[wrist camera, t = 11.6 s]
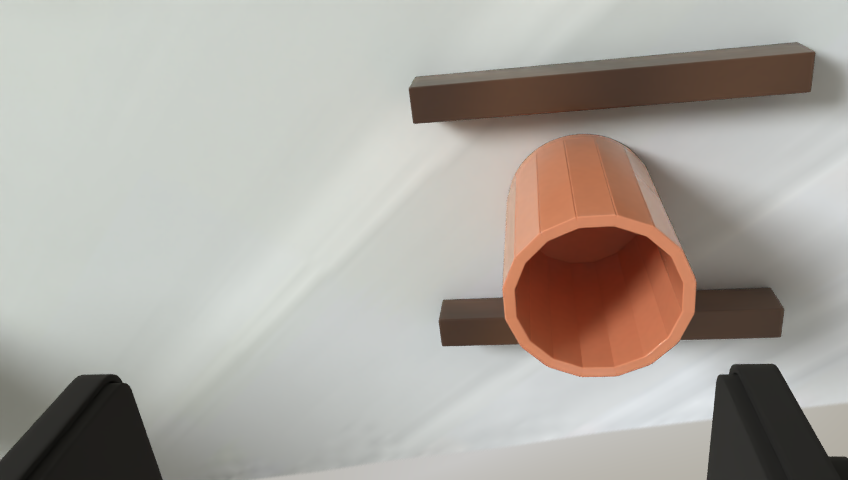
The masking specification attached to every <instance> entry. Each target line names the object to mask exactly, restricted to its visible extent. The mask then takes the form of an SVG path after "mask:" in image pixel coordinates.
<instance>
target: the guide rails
mask: <svg viewBox="0 0 848 480" xmlns="http://www.w3.org/2000/svg"><path fill="white" fill-rule="evenodd" d="M814 61H815V52H814V51H813V50H811V49H809V48H807V47H805V46H803V45H802V44H800V43H798V42H795V43H784V44H773V45H762V46H751V47H740V48H729V49H718V50H707V51H696V52H685V53H674V54H663V55H652V56H641V57H630V58H619V59H608V60H597V61H586V62H575V63H564V64H553V65H542V66H531V67H520V68H508V69H497V70H486V71H475V72H464V73H453V74H442V75H431V76H420V77H415V79H414V80H413V82H412V84H411V85H410V87H409V94H410V102H411V110H412V118H413V123H414V124H418V123H431V122H443V121H456V120H468V119H481V118H494V117H506V116H519V115H531V114H544V113H556V112H569V111H581V110H594V109H607V108H619V107H632V106H644V105H657V104H669V103H682V102H694V101H707V100H720V99H732V98H745V97H757V96H770V95H782V94H795V93H807V92H811V86H812V78H813V69H814ZM783 316H784V308H783V306H782V305H781V303H780V302H779V300H778V298H777V297H776V295H775V294H774V292H773V290H772V289H771V288H751V289H724V290H697V291H696V301H695V313H694V316H693V317H692V319H691V321H690V323H689V325H688V326H687V328H686V330H685V332H684V333H683V335H682V337H681V339H680V340H702V339H740V338H778V337H781V333H782V324H783ZM439 326H440V334H441V342H442V346H471V345H510V344H519V343H518V341H517V339H516V337H515V336H514V334H513V332H512V331H511V329H510V327H509V325H508V324H507V322H506V319H505V314H504V302H503V298H482V299H455V300H443V302H442V307H441V312H440V317H439Z"/></svg>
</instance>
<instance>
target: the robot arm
mask: <svg viewBox="0 0 848 480" xmlns="http://www.w3.org/2000/svg"><path fill="white" fill-rule="evenodd" d="M0 480H163V479H162V476H161V474H160V471H159V468H158V465H157V462H156V459H155V456H154V453H153V450H152V448H151V445H150V442H149V439H148V436H147V433H146V430H145V427H144V424H143V422H142V419H141V416H140V413H139V410H138V407H137V404H136V401H135V398H134V396H133V393H132V390H131V388H130V386H129V385H128V384H126V383H123V382H122V380H121V379H120V378H119V377H118V376H117V375H113V374H99V375H81V376H78V377H77V378H75V379H74V380H73V381H72V382H71V383H70V384H69V385H68V387H67V388H66V389H65V390H64V391H63V392H62V393H61V394H60V395H59V397H58V398H57V399H56V400H55V401H54V402H53V403H52V404H51V405H50V406H49V408H48V409H47V410H46V411H45V412H44V413H43V414H42V415H41V416H40V418H39V419H38V420H37V421H36V422H35V423H34V424H33V425H32V426H31V427H30V429H29V430H28V431H27V432H26V433H25V434H24V435H23V436H22V437H21V439H20V440H19V441H18V442H17V443H16V444H15V445H14V446H13V447H12V448H11V450H10V451H9V452H8V453H7V454H6V455H5V456H4V457H3V458H2V460H1V461H0ZM707 480H848V458H846V457H828V455H827V454H826V452H825V450H824V448H823V446H822V445H821V443H820V441H819V439H818V438H817V436H816V434H815V432H814V431H813V429H812V427H811V425H810V423H809V422H808V420H807V418H806V417H805V415H804V413H803V411H802V409H801V408H800V406H799V404H798V402H797V401H796V399H795V397H794V395H793V393H792V392H791V390H790V388H789V386H788V385H787V383H786V381H785V379H784V378H783V376H782V374H781V372H780V371H779V369H778V368H777V366H776V365H774V364H734V365H732V366H731V369H730V372H729V374H728V375H718V377H717V381H716V390H715V401H714V411H713V421H712V432H711V442H710V452H709V463H708V473H707Z"/></svg>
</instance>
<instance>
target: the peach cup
mask: <svg viewBox="0 0 848 480" xmlns="http://www.w3.org/2000/svg"><path fill="white" fill-rule="evenodd" d="M696 283H697V281H696V278H695V275H694V273H693V271H692V269H691V266H690V264H689V262H688V260H687V258H686V255H685V253H684V251H683V249H682V246H681V244H680V242H679V240H678V237H677V235H676V233H675V231H674V228H673V226H672V224H671V222H670V220H669V217H668V215H667V213H666V211H665V208H664V206H663V204H662V202H661V199H660V197H659V195H658V193H657V190H656V188H655V186H654V184H653V182H652V179H651V177H650V175H649V173H648V171H647V168H646V166H645V165H644V164H643V163H642V161H641V160H640V159H639V157H638V156H637V155H636V154H635V153H634V152H633V151H631V150H630V149H629V148H627V147H626V146H625V145H623V144H621V143H619V142H617V141H615V140H612V139H610V138H607V137H603V136H599V135H591V134H576V135H569V136H565V137H561V138H558V139H555V140H553V141H550V142H548V143H546V144H544V145H543V146H541V147H539V148H538V149H537V150H535V151H534V152H533V153H532V154H530V155H529V156H528V157H527V158H526V159H525V161H524V162H523V163H522V164H521V165H520V167H519V169H518V170H517V172H516V173H515V176H514V178H513V180H512V183H511V186H510V190H509V195H508V198H507V212H506V231H505V250H504V269H503V289H502V290H503V302H504V314H505V319H506V322H507V324H508V325H509V327H510V329H511V331H512V332H513V334H514V336H515V337H516V339H517V341H518V343H519V344H520V346H521V347H522V348H523V349H525V350H526V351H527V352H529V353H530V354H531V355H533V356H534V357H535V358H537V359H538V360H539V361H541V362H542V363H543V364H544V365H546V366H548V367H550V368H553V369H556V370H560V371H563V372H566V373H569V374H573V375H576V376H579V377H608V376H616V375H617V376H619V375H622V374H625V373H628V372H631V371H634V370H637V369H640V368H642V367H645V366H648V365H650V364H652V363H654V362H655V361H656V360H657V359H659V358H660V357H661V356H662V355H664V354H665V353H666V352H667V351H669V350H670V349H671V348H672V347H674V346H675V345H676V344H677V343H678V342H679V341H680V339H681V337H682V335H683V333H684V332H685V330H686V328H687V326H688V325H689V323H690V321H691V319H692V317H693V316H694V313H695V301H696Z"/></svg>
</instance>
